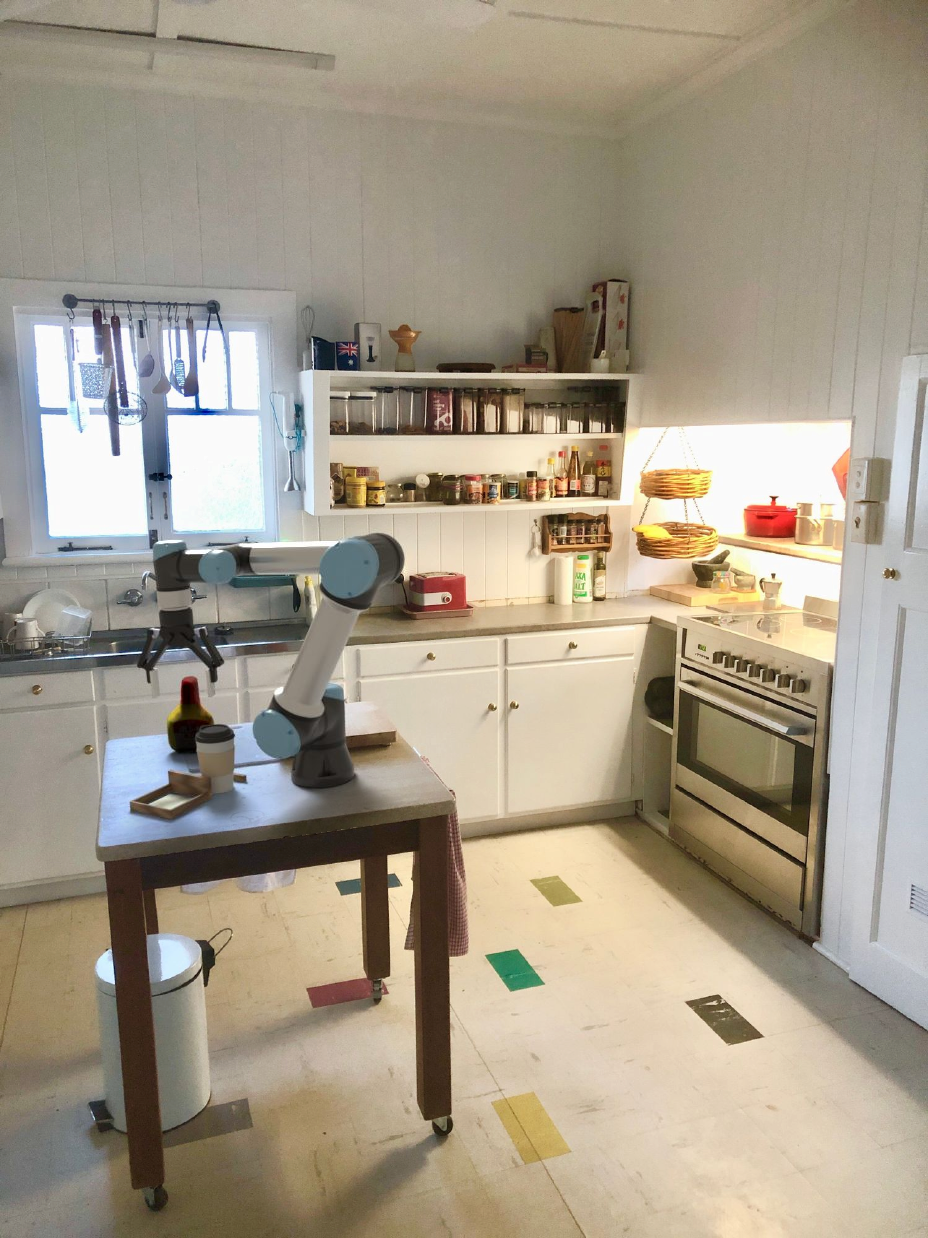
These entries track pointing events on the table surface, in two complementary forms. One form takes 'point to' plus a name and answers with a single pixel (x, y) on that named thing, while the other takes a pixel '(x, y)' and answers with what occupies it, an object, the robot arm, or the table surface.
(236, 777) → the rail
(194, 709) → the bottle
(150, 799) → the tray
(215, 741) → the coffee cup
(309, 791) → the table surface
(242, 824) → the table surface
